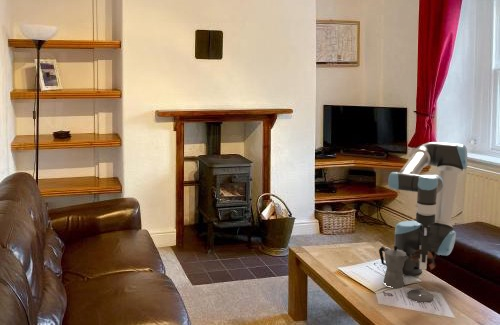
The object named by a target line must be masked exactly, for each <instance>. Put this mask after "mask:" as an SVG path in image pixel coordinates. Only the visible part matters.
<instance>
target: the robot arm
mask: <svg viewBox="0 0 500 325" xmlns="http://www.w3.org/2000/svg"><path fill="white" fill-rule="evenodd" d="M427 166H433V167H436V170H437V171H438V174H439V175H438V174H420V173H421V171H423V168H426V167H427ZM467 168H468V150H467V147H466V145H464V144H462V143H457V142H456V143H454V142H453V143H452V142H451V143H450V142H439V141H437V142H436V141H431V142H426V143H423V144H421V145H419V146H417V147H416V148H414V149H413V150H412V151H411V153H410V155H409V159H408V160H407V161H406V162H405V164H404V165H403V166H402V168H401V169H400V171H399V172H398V171H392V172H390V174H389V175H388V179H387V180H388V183H387V184H388V188H390V189H391V190H395V191H403V192H404V191H405V192H412V193H414V192H415V193H417V194H416V195H417V196H416V204H415V205H414V207H416V213H415V220H404V221H400V222H398V223H396V224H395V230H394V245H393V247H394V246H397V249H398V250H402V251H404V252H406V255H407V256H408V259H406V260H405V262H404V267H403V268H402V271H403V274H405V276H416V275H419V274H421V273H423V271H424V270H425V271H426V270H427V267H428V265H427V264H428V257H427V255H428V250H430V249H433V250H435V252H436V255H437V256H440V255H441V256H449V255H450V254H451V253H452V252H453V250H454V246H455V243H456V238H457V232H456V231H455V230H454V226H453V225H452V223H451V222H452V218H453V211H454V210H453V209H454V204H455V198H456V194H457V193H456V192H457V187H458V180H459V176H460V175H462V174H463V171H464V170H466V169H467ZM419 249H421V253H419V254H420V259H419V258H418V260H417V263H416V262H411V257H410V255H411V254H412V253H413V255H414V254H415V253H414V252H415V251H417V250H419ZM423 251H424V252H423Z"/></svg>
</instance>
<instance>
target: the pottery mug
mask: <svg viewBox="0 0 500 325" xmlns="http://www.w3.org/2000/svg"><path fill="white" fill-rule="evenodd" d="M423 252H424V251H423ZM414 253H415V254H414V255H413V253H412V254H411V255H410V257H411V262H416V263H417V260H418V258H419V259H420V254H419V253H421V249H419V250H417V251H415V252H414ZM436 256H437V254H436V252H435V250H433V249H430V250H428V255H427V262H430V263H429V264H428V266H429V269H430V271H431V270H432V271H433V269H435V268H436V262H435V259H436Z"/></svg>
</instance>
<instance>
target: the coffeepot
mask: <svg viewBox="0 0 500 325" xmlns="http://www.w3.org/2000/svg"><path fill="white" fill-rule="evenodd" d="M378 253H379V257H380V261H381V265H383V266H385V267H386V270H385V274H384V278H383V282H384V283H386V285H387V286H391V287H393V288H392V289H401V288H403V287H404V285H405V280H404V278H405V276H404V275H403V271H402V268H403V267H404V262H405V260H406V259H408V256H407V255H406V252H404V251H402V250H398V249H397V246H394V245H393V248H388V247H384V246H381V247H380V248H379V249H378ZM387 286H386V287H387Z"/></svg>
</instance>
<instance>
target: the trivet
mask: <svg viewBox="0 0 500 325" xmlns="http://www.w3.org/2000/svg"><path fill="white" fill-rule="evenodd" d="M406 297H407V299H409V300H410V299H411V301H413V302H415V301H417V302H416V303H421V302H423V303H424V302H428V303H431V301H432V302H433V301H434V300H435V294H433V293H432V292H430V291H429V290H428V291H427V290H425V289H417V288H415V289H410V290H407V292H406ZM424 304H425V303H424Z"/></svg>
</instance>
